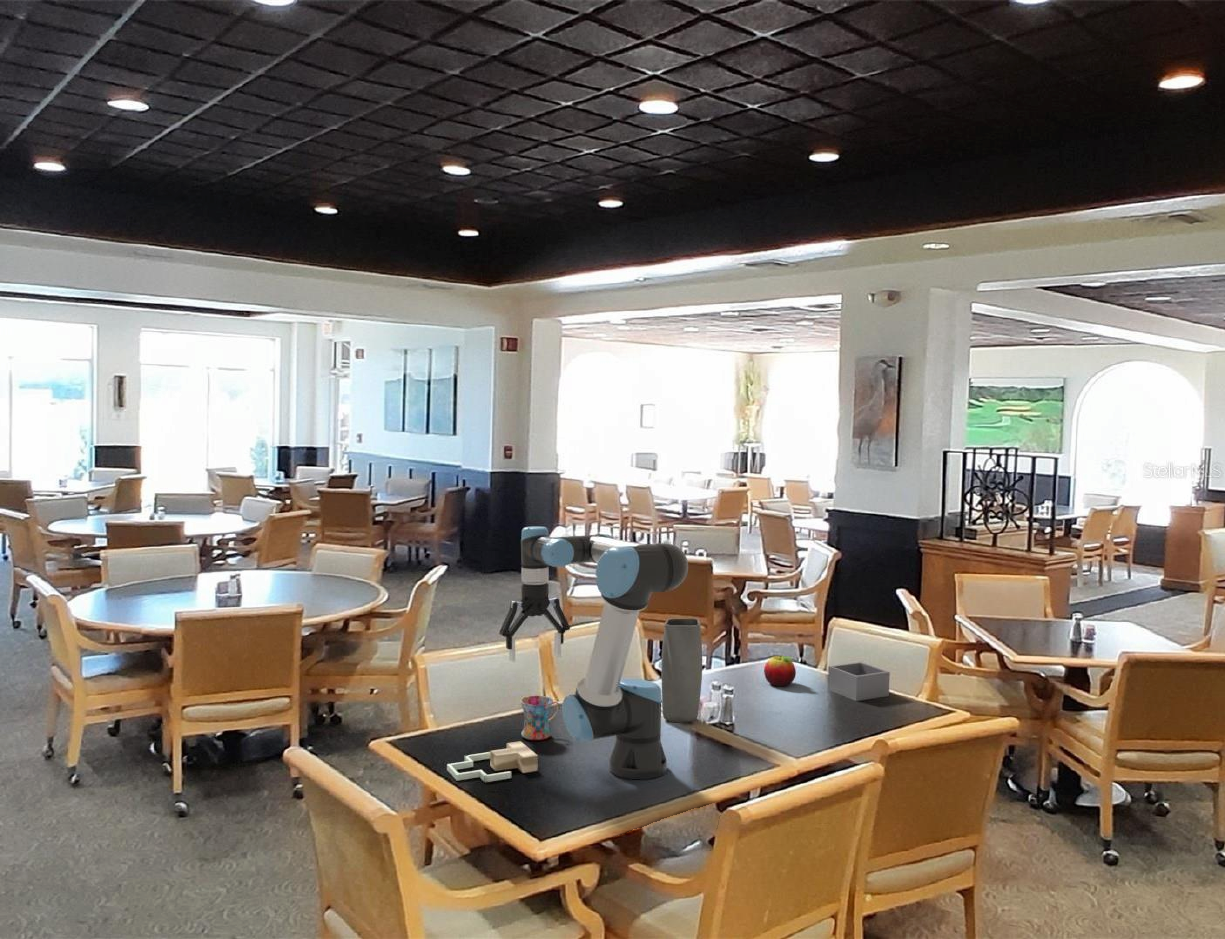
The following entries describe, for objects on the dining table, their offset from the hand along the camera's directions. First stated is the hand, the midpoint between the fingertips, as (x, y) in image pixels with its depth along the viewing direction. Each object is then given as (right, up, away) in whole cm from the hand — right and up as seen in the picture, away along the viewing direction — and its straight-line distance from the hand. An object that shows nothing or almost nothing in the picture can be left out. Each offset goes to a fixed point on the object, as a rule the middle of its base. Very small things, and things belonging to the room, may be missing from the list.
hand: (535, 658), depth 274 cm
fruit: (+79, -21, +63) cm, 103 cm away
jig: (-13, -25, -22) cm, 36 cm away
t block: (-5, -25, -17) cm, 31 cm away
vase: (+42, -23, +22) cm, 53 cm away
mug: (+1, -24, +6) cm, 24 cm away
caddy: (+104, -22, +54) cm, 119 cm away
